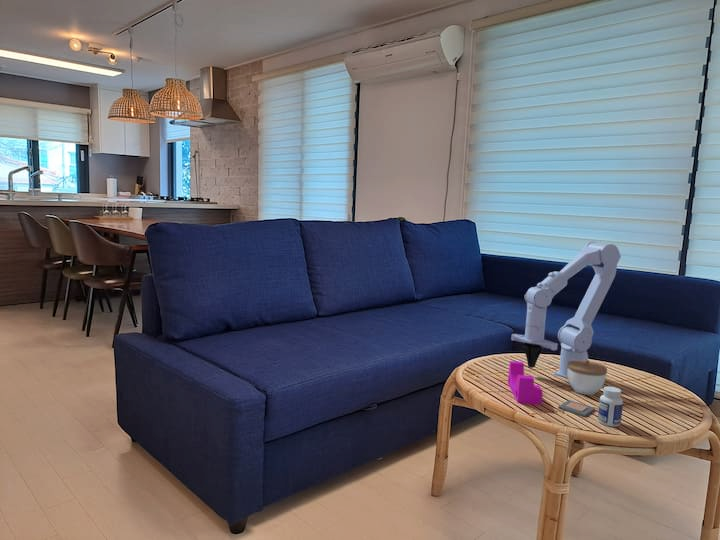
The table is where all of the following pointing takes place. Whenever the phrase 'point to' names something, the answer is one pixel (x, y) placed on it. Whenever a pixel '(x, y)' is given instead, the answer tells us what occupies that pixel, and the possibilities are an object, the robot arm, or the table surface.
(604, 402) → the pill bottle
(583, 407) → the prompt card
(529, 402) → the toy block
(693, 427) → the table surface
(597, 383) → the lidded jar
